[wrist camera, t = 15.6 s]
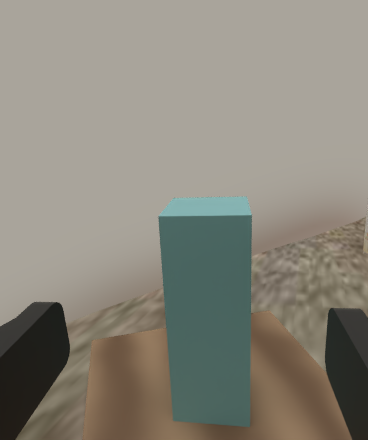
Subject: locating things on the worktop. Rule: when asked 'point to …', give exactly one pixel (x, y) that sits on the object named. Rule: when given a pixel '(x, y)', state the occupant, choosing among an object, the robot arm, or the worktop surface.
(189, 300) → the teal pillar
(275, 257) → the worktop surface
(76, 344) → the worktop surface
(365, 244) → the coffeecake box
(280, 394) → the walnut base
